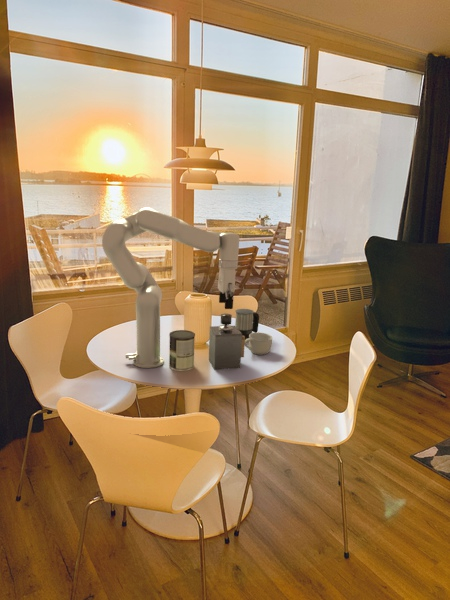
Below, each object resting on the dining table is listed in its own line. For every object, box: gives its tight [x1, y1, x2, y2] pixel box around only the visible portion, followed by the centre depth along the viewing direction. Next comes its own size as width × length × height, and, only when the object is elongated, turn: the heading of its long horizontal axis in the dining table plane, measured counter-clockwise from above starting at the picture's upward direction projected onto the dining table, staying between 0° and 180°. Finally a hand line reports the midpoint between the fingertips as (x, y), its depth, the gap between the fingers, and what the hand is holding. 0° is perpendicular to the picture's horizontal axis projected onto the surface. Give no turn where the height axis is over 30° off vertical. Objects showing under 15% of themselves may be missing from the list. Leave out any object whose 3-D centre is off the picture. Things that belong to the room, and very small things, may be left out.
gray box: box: [208, 325, 245, 371], centre depth 180 cm, size 14×11×15 cm
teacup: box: [244, 331, 274, 356], centre depth 196 cm, size 14×11×8 cm
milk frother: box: [234, 308, 260, 343], centre depth 216 cm, size 14×16×15 cm
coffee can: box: [168, 329, 196, 372], centre depth 176 cm, size 10×10×14 cm
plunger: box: [218, 313, 233, 331], centre depth 179 cm, size 8×8×18 cm
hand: (225, 305), depth 176 cm, fingers open, 9 cm apart
